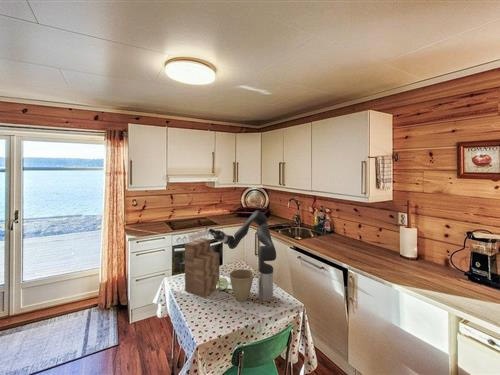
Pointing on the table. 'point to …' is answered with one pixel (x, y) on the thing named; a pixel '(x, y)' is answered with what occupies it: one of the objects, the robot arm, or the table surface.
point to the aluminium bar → (199, 234)
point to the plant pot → (241, 283)
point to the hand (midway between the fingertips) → (207, 229)
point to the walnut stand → (201, 268)
